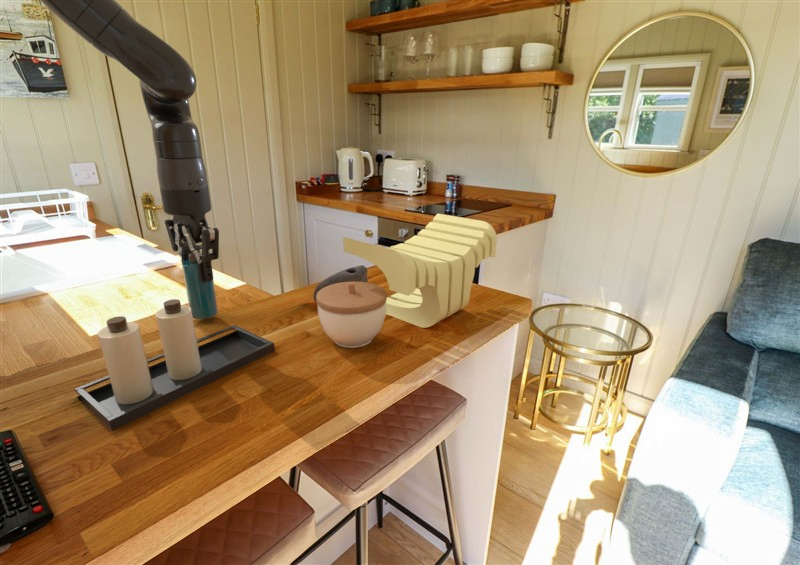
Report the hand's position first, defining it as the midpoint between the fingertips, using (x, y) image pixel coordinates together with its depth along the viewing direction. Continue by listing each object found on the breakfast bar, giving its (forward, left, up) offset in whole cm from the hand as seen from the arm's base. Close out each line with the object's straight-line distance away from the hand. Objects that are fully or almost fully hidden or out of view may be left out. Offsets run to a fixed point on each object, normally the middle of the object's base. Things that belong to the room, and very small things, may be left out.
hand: (198, 277), depth 78 cm
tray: (+12, -11, -11) cm, 20 cm away
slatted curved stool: (+29, +33, -11) cm, 45 cm away
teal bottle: (0, 0, -7) cm, 7 cm away
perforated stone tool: (+11, +26, -11) cm, 30 cm away
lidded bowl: (+25, +14, -11) cm, 31 cm away
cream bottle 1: (+12, -18, -10) cm, 24 cm away
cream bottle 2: (+12, -11, -10) cm, 19 cm away
